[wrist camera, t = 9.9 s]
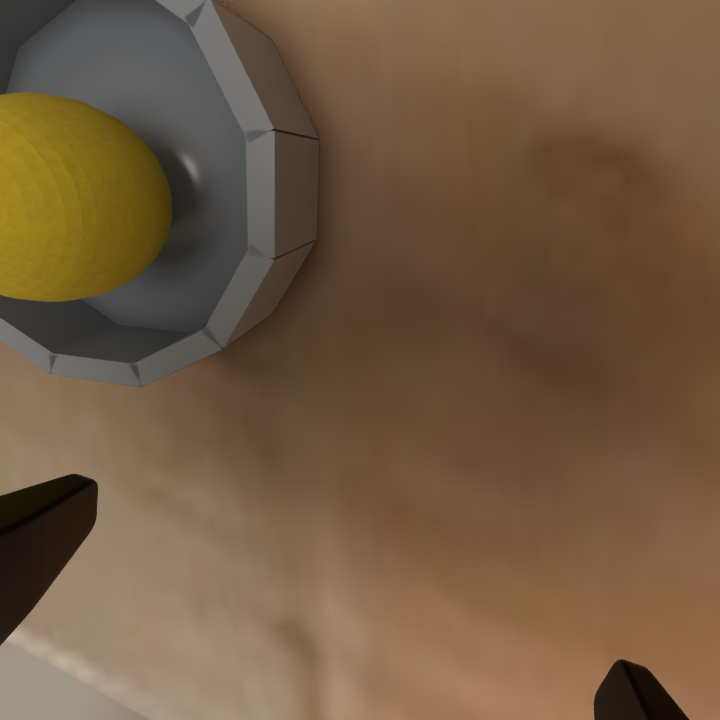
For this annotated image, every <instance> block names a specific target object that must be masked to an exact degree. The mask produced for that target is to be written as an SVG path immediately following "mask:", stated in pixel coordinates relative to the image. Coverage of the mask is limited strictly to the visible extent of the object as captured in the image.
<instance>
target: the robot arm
mask: <svg viewBox="0 0 720 720" xmlns="http://www.w3.org/2000/svg"><path fill="white" fill-rule="evenodd" d="M97 498H98V485H97V482H96V481H95V480H93V479H90V478H87V477H84V476H81V475H78V474H70V475H66V476H63V477H60V478H57V479H54V480H50V481H47V482H44V483H41V484H37V485H34V486H31V487H28V488H24V489H21V490H18V491H15V492H12V493H8V494H5V495H2V496H0V645H1V644H2V643H3V642H4V641H5V640H6V639H7V638H8V637H9V635H10V634H11V633H12V632H13V631H14V630H15V629H16V628H17V627H18V625H19V624H20V623H21V622H22V621H23V620H24V619H25V617H26V616H27V615H28V614H29V613H30V612H31V610H32V609H33V608H34V607H35V605H36V604H37V603H38V602H39V600H40V599H41V598H42V596H43V595H44V594H45V592H46V591H47V590H48V588H49V587H50V586H51V584H52V583H53V582H54V580H55V579H56V578H57V576H58V575H59V574H60V572H61V571H62V570H63V568H64V567H65V565H66V564H67V563H68V561H69V560H70V559H71V557H72V556H73V555H74V553H75V552H76V551H77V549H78V548H79V547H80V545H81V544H82V543H83V541H84V540H85V538H86V537H87V536H88V534H89V533H90V532H91V530H92V528H93V526H94V524H95V521H96V517H97ZM594 718H595V720H689V719H688V717H687V716H686V715H685V714H684V712H683V711H682V710H681V709H680V708H679V706H678V705H677V704H676V703H675V701H674V700H673V699H672V698H671V696H670V695H669V694H668V693H667V691H666V690H665V689H664V688H663V687H662V685H661V684H660V683H659V682H658V680H657V679H656V678H655V677H654V675H653V674H652V673H651V672H650V671H649V670H648V669H647V668H645V667H643V666H641V665H638V664H635V663H632V662H629V661H626V660H622V659H620V660H617V661H616V662H615V663H614V664H613V666H612V667H611V669H610V671H609V672H608V674H607V675H606V677H605V679H604V680H603V682H602V683H601V685H600V687H599V688H598V690H597V692H596V695H595V699H594Z"/></svg>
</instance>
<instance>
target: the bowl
mask: <svg viewBox="0 0 720 720" xmlns="http://www.w3.org/2000/svg"><path fill="white" fill-rule="evenodd" d="M21 92H35V93H44V94H50V95H55V96H60V97H65V98H70V99H75V100H79V101H82V102H84V103H87V104H89V105H91V106H93V107H95V108H97V109H100V110H102V111H104V112H106V113H108V114H110V115H112V116H114V117H116V118H117V119H119V120H120V121H122V122H123V123H124V124H126V125H127V126H128V127H129V128H130V129H131V130H133V131H134V132H135V133H136V134H137V135H139V136H140V137H141V138H142V139H143V140H144V141H145V143H146V144H147V145H148V147H149V148H150V149H151V151H152V152H153V153H154V154H155V156H156V157H157V158H158V160H159V162H160V165H161V167H162V169H163V171H164V173H165V175H166V177H167V179H168V184H169V188H170V192H171V196H172V222H171V227H170V231H169V236H168V238H167V240H166V242H165V244H164V246H163V248H162V250H161V252H160V253H159V255H158V257H157V258H156V259H155V260H154V261H153V262H152V263H151V264H150V265H149V266H148V267H147V268H146V269H145V270H144V271H143V272H142V273H141V274H140V275H139V276H138V277H136V278H135V279H133V280H131V281H129V282H128V283H126V284H124V285H122V286H120V287H118V288H116V289H114V290H113V291H110V292H108V293H105V294H102V295H98V296H93V297H88V298H82V299H77V300H70V301H60V302H45V301H33V300H24V299H15V298H10V297H6V296H3V295H0V341H1V342H3V343H4V344H6V345H7V346H9V347H10V348H12V349H13V350H15V351H16V352H18V353H19V354H21V355H22V356H24V357H25V358H27V359H28V360H30V361H31V362H33V363H34V364H36V365H37V366H39V367H40V368H42V369H43V370H45V371H46V372H48V373H49V374H52V375H57V376H64V377H71V378H78V379H86V380H93V381H100V382H107V383H114V384H121V385H129V386H136V387H141V386H142V387H143V386H145V385H147V384H150V383H152V382H154V381H156V380H158V379H160V378H162V377H165V376H167V375H169V374H171V373H173V372H175V371H177V370H180V369H182V368H184V367H186V366H188V365H190V364H192V363H195V362H197V361H199V360H201V359H203V358H205V357H207V356H210V355H212V354H214V353H216V352H218V351H220V350H222V349H224V348H225V347H226V346H228V345H229V344H230V343H232V342H233V341H235V340H236V339H237V338H239V337H240V336H241V335H243V334H244V333H245V332H247V331H248V330H250V329H251V328H252V327H254V326H255V325H256V324H258V323H259V322H260V321H262V320H263V319H265V318H266V317H267V316H269V315H270V314H271V313H272V312H274V310H275V308H276V307H277V305H278V303H279V302H280V300H281V298H282V297H283V295H284V293H285V292H286V290H287V288H288V287H289V285H290V284H291V282H292V280H293V279H294V277H295V275H296V274H297V272H298V270H299V269H300V267H301V265H302V264H303V262H304V260H305V259H306V257H307V255H308V254H309V252H310V250H311V249H312V247H313V246H314V244H315V242H316V239H317V216H318V179H319V142H320V141H319V140H317V139H319V137H318V135H317V133H316V131H315V129H314V127H313V125H312V123H311V120H310V118H309V116H308V114H307V112H306V110H305V108H304V106H303V104H302V101H301V99H300V97H299V95H298V93H297V91H296V89H295V87H294V85H293V83H292V80H291V78H290V76H289V74H288V72H287V70H286V68H285V66H284V64H283V62H282V59H281V57H280V55H279V53H278V51H277V49H276V47H275V45H274V43H273V41H272V40H271V38H269V37H268V36H266V35H265V34H264V33H262V32H261V31H259V30H258V29H257V28H255V27H254V26H252V25H251V24H250V23H248V22H247V21H246V20H244V19H243V18H241V17H240V16H239V15H237V14H236V13H234V12H233V11H232V10H230V9H229V8H227V7H226V6H225V5H223V4H222V3H220V2H219V1H218V0H0V95H2V94H10V93H21Z"/></svg>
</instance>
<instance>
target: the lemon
mask: <svg viewBox="0 0 720 720" xmlns="http://www.w3.org/2000/svg"><path fill="white" fill-rule="evenodd" d="M171 222H172V196H171V192H170V188H169V184H168V179H167V177H166V175H165V173H164V171H163V169H162V167H161V165H160V162H159V160H158V158H157V157H156V156H155V154H154V153H153V152H152V151H151V149H150V148H149V147H148V145H147V144H146V143H145V141H144V140H143V139H142V138H141V137H140V136H139V135H137V134H136V133H135V132H134V131H133V130H131V129H130V128H129V127H128V126H127V125H126V124H124V123H123V122H122V121H120V120H119V119H117V118H116V117H114V116H112V115H110V114H108V113H106V112H104V111H102V110H100V109H97V108H95V107H93V106H91V105H89V104H87V103H84V102H82V101H79V100H75V99H70V98H65V97H60V96H55V95H50V94H44V93H35V92H21V93H10V94H2V95H0V295H3V296H6V297H10V298H15V299H24V300H33V301H45V302H60V301H70V300H77V299H82V298H88V297H93V296H98V295H102V294H105V293H108V292H110V291H113V290H114V289H116V288H118V287H120V286H122V285H124V284H126V283H128V282H129V281H131V280H133V279H135V278H136V277H138V276H139V275H140V274H141V273H142V272H143V271H144V270H145V269H146V268H147V267H148V266H149V265H150V264H151V263H152V262H153V261H154V260H155V259H156V258H157V257H158V255H159V253H160V252H161V250H162V248H163V246H164V244H165V242H166V240H167V238H168V236H169V231H170V227H171Z"/></svg>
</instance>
